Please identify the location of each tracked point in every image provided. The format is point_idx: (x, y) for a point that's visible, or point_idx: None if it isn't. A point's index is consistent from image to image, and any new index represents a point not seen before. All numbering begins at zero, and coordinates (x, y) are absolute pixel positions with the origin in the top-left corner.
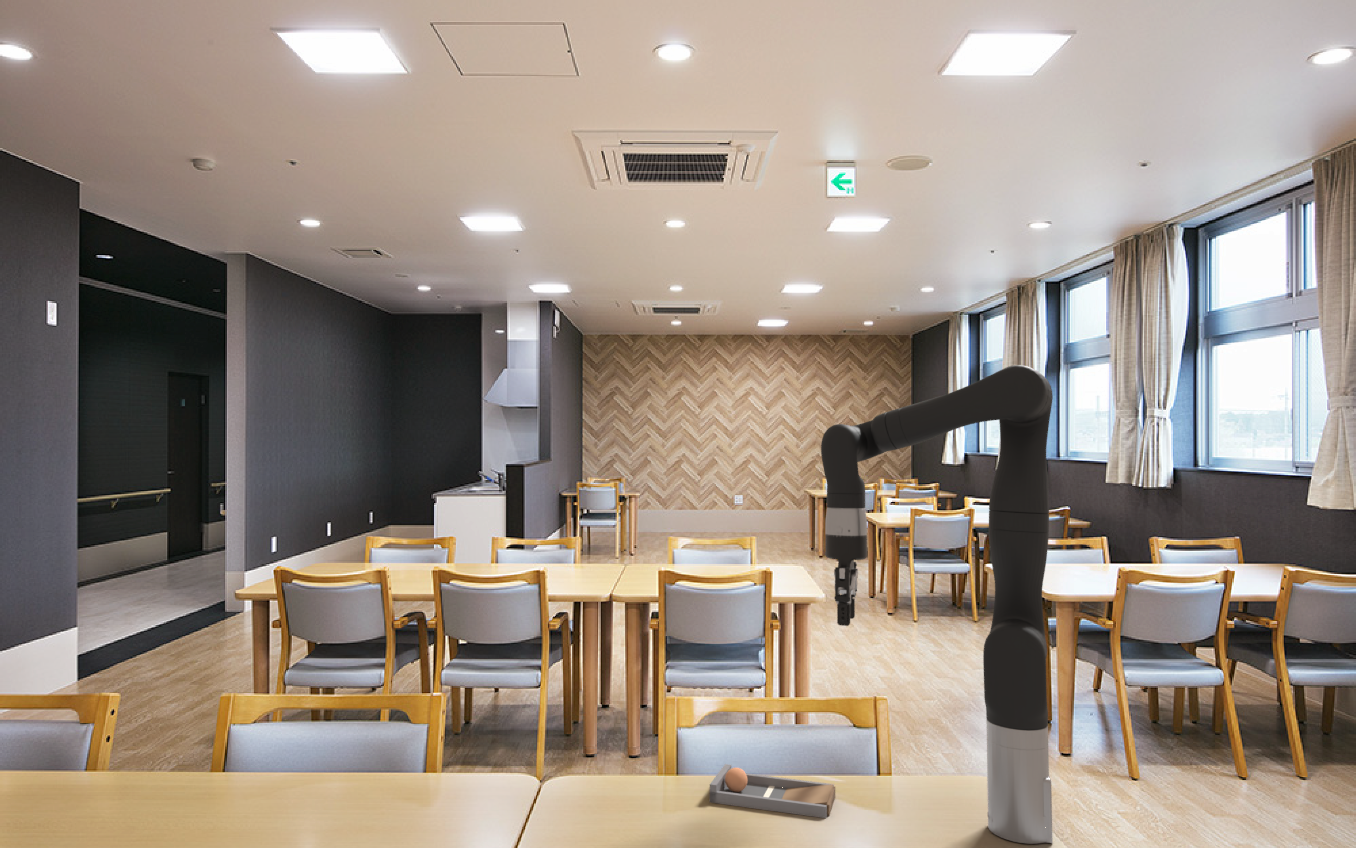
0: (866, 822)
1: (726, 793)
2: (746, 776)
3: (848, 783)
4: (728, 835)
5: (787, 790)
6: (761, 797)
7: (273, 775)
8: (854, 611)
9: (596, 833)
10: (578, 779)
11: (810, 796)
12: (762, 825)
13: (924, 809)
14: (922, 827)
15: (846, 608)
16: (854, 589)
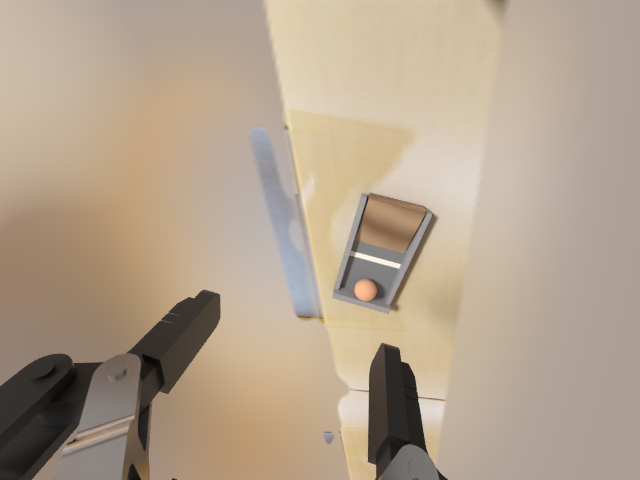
0: (440, 167)
1: (392, 297)
2: (368, 285)
3: (321, 170)
4: (459, 294)
5: (361, 240)
6: (403, 271)
7: (353, 473)
8: (198, 308)
9: (444, 368)
10: (342, 372)
11: (394, 225)
12: (439, 267)
13: (401, 80)
14: (462, 95)
15: (421, 434)
16: (133, 426)
